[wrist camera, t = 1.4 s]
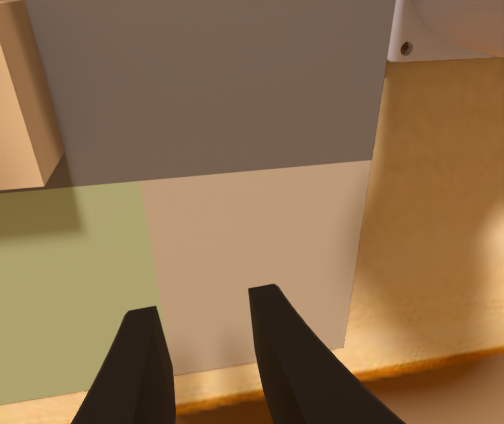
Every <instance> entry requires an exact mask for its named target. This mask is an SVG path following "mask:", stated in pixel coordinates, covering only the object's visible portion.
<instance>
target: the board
mask: <svg viewBox="0 0 504 424" xmlns="http://www.w3.org/2000/svg"><path fill="white" fill-rule="evenodd" d="M25 3H26V7H27V11H28V14H29V18H30V22H31V26H32V29H33V33H34V37H35V41H36V44H37V48H38V52H39V56H40V59H41V63H42V67H43V71H44V74H45V78H46V82H47V86H48V89H49V93H50V97H51V101H52V104H53V108H54V112H55V116H56V119H57V123H58V127H59V131H60V135H61V138H62V142H63V146H64V150H65V152H64V153H63V155H62V157H61V159H60V160H59V162H58V164H57V165H56V167H55V169H54V171H53V172H52V174H51V176H50V177H49V179H48V181H47V183H46V184H45V186H42V187H31V188H20V189H9V190H0V405H1V404H7V403H13V402H19V401H25V400H31V399H37V398H43V397H49V396H55V395H61V394H67V393H73V392H79V391H85V390H89V389H90V387H91V386H92V384H93V382H94V380H95V378H96V376H97V374H98V372H99V370H100V368H101V366H102V364H103V362H104V360H105V358H106V356H107V354H108V352H109V349H110V347H111V345H112V343H113V341H114V339H115V336H116V334H117V332H118V329H119V327H120V325H121V322H122V320H123V318H124V315H125V314H126V313H127V312H128V311H129V310H134V309H140V308H145V307H151V306H157V310H158V314H159V317H160V321H161V325H162V328H163V332H164V336H165V339H166V343H167V347H168V351H169V354H170V358H171V362H172V365H173V376H176V375H182V374H188V373H194V372H200V371H206V370H212V369H218V368H224V367H230V366H236V365H242V364H248V363H254V362H257V359H256V355H255V350H254V341H253V331H252V322H251V313H250V303H249V294H248V288H253V287H258V286H263V285H269V284H276V285H277V286H279V288H280V289H281V291H282V292H283V294H284V295H285V296H286V298H287V299H288V301H289V302H290V303H291V305H292V306H293V307H294V309H295V310H296V311H297V313H298V314H299V315H300V316H301V317H302V319H303V320H304V321H305V322H306V324H307V325H308V326H309V327H310V328H311V330H312V331H313V332H314V333H315V334H316V335H317V337H318V338H319V339H320V340H321V341H322V342H323V343H324V344H325V345H326V347H327V348H328V349H329V350H332V349H338V348H344V342H345V335H346V329H347V322H348V315H349V309H350V302H351V295H352V289H353V282H354V275H355V269H356V262H357V255H358V249H359V242H360V236H361V229H362V222H363V216H364V209H365V202H366V196H367V189H368V182H369V176H370V169H371V163H372V156H373V149H374V143H375V136H376V129H377V123H378V116H379V109H380V103H381V96H382V90H383V83H384V76H385V70H386V63H387V56H388V50H389V43H390V36H391V30H392V23H393V16H394V10H395V3H396V0H25Z"/></svg>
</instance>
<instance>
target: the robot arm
mask: <svg viewBox="0 0 504 424" xmlns="http://www.w3.org/2000/svg"><path fill="white" fill-rule="evenodd" d="M405 42H407V43H408V48H407V51H406V52H405V53H403V54H401V47H402V45H403V44H404V43H405ZM491 57H503V58H504V0H396V3H395V10H394V16H393V23H392V30H391V36H390V43H389V50H388V56H387V61H388V62H411V61H431V60H451V59H471V58H491ZM248 294H249V303H250V313H251V322H252V331H253V341H254V350H255V355H256V359H257V364H258V369H259V373H260V378H261V382H262V387H263V391H264V395H265V398H266V401H267V404H268V407H269V410H270V414H271V417H272V420H273V423H274V424H406V423H405V422H403V421H402V420H401V419H400V418H399V417H398V416H396V415H395V414H394V413H393V412H392V411H391V410H390V409H389V408H387V407H386V406H385V405H384V404H383V403H382V402H381V401H380V400H379V399H377V397H376V396H374V395H373V394H372V393H371V392H370V391H369V390H368V389H367V388H366V387H365V386H364V385H363V384H362V383H361V382H360V381H359V380H358V379H357V378H356V377H355V376H354V375H353V374H352V373H351V372H350V371H349V370H348V369H347V368H346V367H345V366H344V365H343V364H342V363H341V362H340V361H339V360H338V359H337V358H336V356H335V355H334V354H333V353H332V352H331V351H330V350H329V349H328V348H327V347H326V345H325V344H324V343H323V342H322V341H321V340H320V339H319V338H318V337H317V335H316V334H315V333H314V332H313V331H312V330H311V328H310V327H309V326H308V325H307V324H306V322H305V321H304V320H303V319H302V317H301V316H300V315H299V314H298V313H297V311H296V310H295V309H294V307H293V306H292V305H291V303H290V302H289V301H288V299H287V298H286V296H285V295H284V294H283V292H282V291H281V289H280V288H279V286H277V285H276V284H269V285H263V286H258V287H253V288H248ZM175 418H176V408H175V391H174V377H173V365H172V362H171V358H170V354H169V351H168V347H167V343H166V339H165V336H164V332H163V328H162V325H161V321H160V317H159V314H158V310H157V306H151V307H145V308H140V309H134V310H129V311H128V312H127V313H126V314H125V315H124V318H123V320H122V322H121V325H120V327H119V329H118V332H117V334H116V336H115V339H114V341H113V343H112V345H111V347H110V349H109V352H108V354H107V356H106V358H105V360H104V362H103V364H102V366H101V368H100V370H99V372H98V374H97V376H96V378H95V380H94V382H93V384H92V386H91V387H90V389H89V391H88V393H87V395H86V397H85V399H84V401H83V403H82V405H81V406H80V408H79V410H78V412H77V414H76V415H75V417H74V419H73V421H72V422H71V424H175Z"/></svg>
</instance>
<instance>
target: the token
mask: <svg viewBox="0 0 504 424" xmlns="http://www.w3.org/2000/svg"><path fill="white" fill-rule="evenodd" d="M64 152H65V150H64V146H63V142H62V138H61V135H60V131H59V127H58V123H57V119H56V116H55V112H54V108H53V104H52V101H51V97H50V93H49V89H48V86H47V82H46V78H45V74H44V71H43V67H42V63H41V59H40V56H39V52H38V48H37V44H36V41H35V37H34V33H33V29H32V26H31V22H30V18H29V14H28V11H27V7H26V3H25V0H0V190H9V189H20V188H31V187H42V186H45V184H46V183H47V181H48V179H49V177H50V176H51V174H52V172H53V171H54V169H55V167H56V165H57V164H58V162H59V160H60V159H61V157H62V155H63V153H64Z"/></svg>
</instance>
